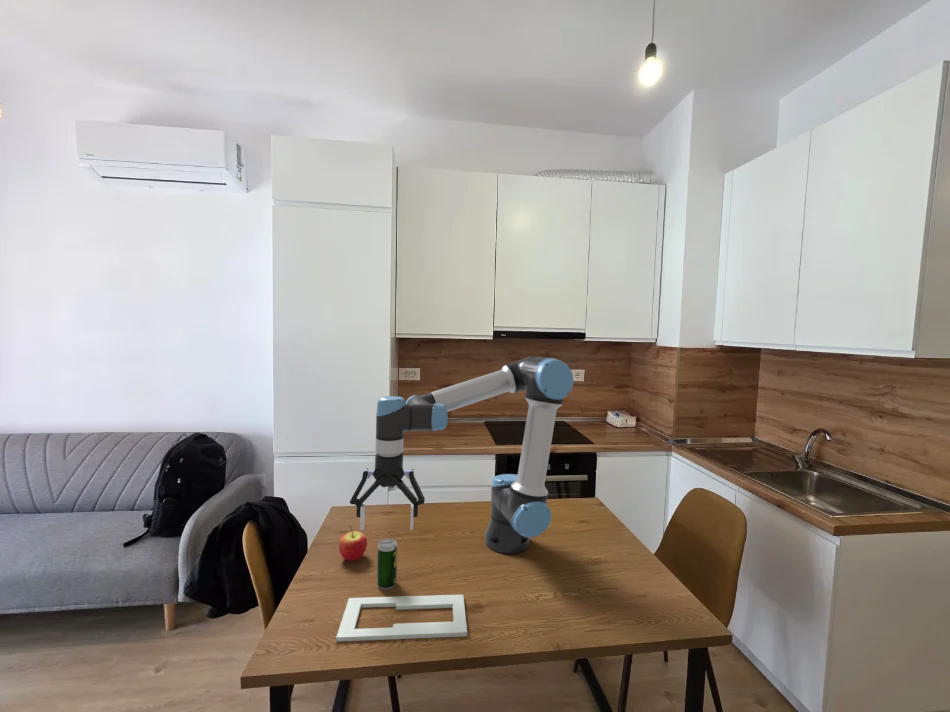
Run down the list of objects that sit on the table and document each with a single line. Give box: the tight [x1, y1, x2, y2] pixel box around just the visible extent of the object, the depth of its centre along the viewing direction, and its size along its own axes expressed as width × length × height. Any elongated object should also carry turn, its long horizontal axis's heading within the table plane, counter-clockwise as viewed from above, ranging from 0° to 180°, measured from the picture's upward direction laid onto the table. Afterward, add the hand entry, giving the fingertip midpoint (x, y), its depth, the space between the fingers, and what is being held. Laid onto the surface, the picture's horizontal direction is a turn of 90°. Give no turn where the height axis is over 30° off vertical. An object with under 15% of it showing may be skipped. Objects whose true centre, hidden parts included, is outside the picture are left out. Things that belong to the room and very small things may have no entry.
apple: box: [338, 525, 368, 562], centre depth 128 cm, size 8×8×10 cm
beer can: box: [376, 538, 398, 591], centre depth 115 cm, size 5×5×12 cm
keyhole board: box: [335, 594, 468, 642], centre depth 102 cm, size 30×14×1 cm, turn 96°
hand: (387, 528), depth 115 cm, fingers open, 13 cm apart
